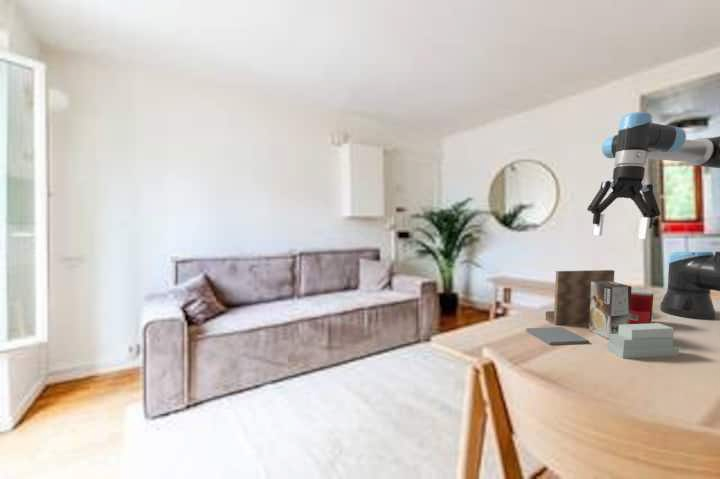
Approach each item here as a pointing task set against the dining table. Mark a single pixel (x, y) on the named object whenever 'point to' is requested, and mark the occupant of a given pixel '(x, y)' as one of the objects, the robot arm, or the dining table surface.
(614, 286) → the coffee box
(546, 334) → the mat
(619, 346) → the offcut stack
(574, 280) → the upright wooden block
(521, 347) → the dining table surface
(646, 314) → the canned food
